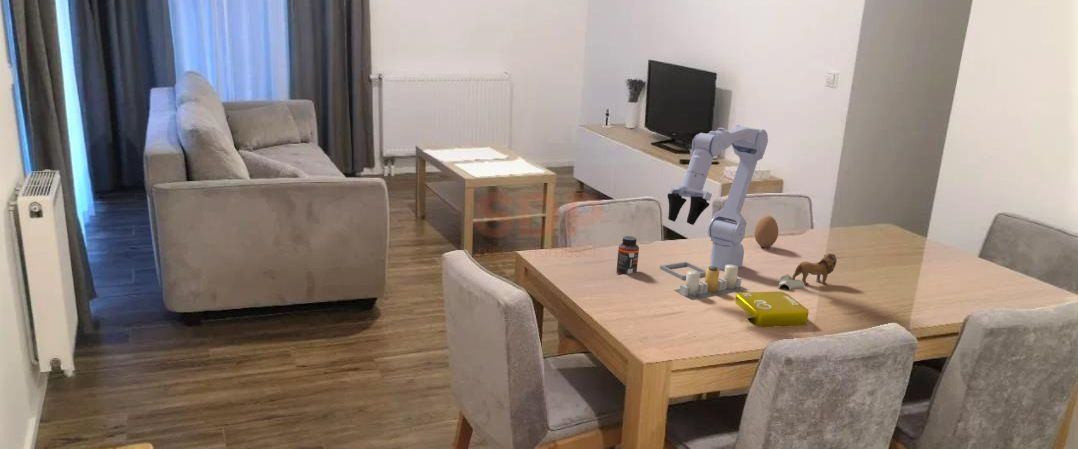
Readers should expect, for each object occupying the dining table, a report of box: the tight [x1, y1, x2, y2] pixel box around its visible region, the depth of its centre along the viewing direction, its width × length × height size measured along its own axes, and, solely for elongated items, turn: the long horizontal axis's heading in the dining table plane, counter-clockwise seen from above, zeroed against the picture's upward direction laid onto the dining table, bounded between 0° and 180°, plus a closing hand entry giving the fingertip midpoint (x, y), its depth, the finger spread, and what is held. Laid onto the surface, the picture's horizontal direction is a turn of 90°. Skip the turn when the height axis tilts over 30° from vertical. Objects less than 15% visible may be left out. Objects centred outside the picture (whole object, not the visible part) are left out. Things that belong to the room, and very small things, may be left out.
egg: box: [754, 215, 779, 249], centre depth 286 cm, size 8×8×11 cm
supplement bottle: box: [616, 235, 640, 276], centre depth 251 cm, size 6×6×11 cm
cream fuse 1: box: [684, 270, 701, 296], centre depth 235 cm, size 4×4×6 cm
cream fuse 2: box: [723, 264, 739, 289], centre depth 242 cm, size 4×4×6 cm
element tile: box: [734, 291, 809, 328], centre depth 227 cm, size 15×15×5 cm
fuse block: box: [673, 275, 747, 301], centre depth 239 cm, size 20×8×4 cm, turn 121°
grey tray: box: [659, 261, 706, 280], centre depth 253 cm, size 10×10×2 cm
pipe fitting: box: [777, 274, 805, 291], centre depth 246 cm, size 8×4×7 cm
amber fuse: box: [704, 265, 721, 292], centre depth 238 cm, size 4×4×7 cm
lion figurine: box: [792, 252, 837, 286], centre depth 253 cm, size 15×5×9 cm, turn 111°
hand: (680, 222), depth 235 cm, fingers open, 7 cm apart
